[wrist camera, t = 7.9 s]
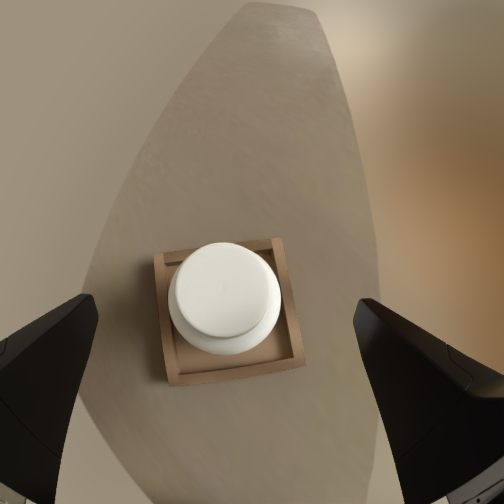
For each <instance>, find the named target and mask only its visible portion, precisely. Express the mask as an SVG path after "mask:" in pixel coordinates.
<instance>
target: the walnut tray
mask: <svg viewBox="0 0 504 504" xmlns="http://www.w3.org/2000/svg"><path fill="white" fill-rule="evenodd" d="M234 244H236V245H240V246H242V247H244V248H246V249H248V250H250V251H252V252H254V253H256V254H257V255H258V256H260V257H261V258H262V259H263V260H264V261H265V262H266V263H267V264H268V265H269V267H270V268H271V269H272V271H273V273H274V274H275V276H276V278H277V281H278V284H279V288H280V294H281V306H280V312H279V316H278V319H277V321H276V323H275V325H274V327H273V329H272V330H271V332H270V333H269V334H268V336H267V337H266V338H265V339H264V340H263V341H262V342H261V343H259V344H258V345H256V346H255V347H253V348H251V349H250V350H247V351H245V352H242V353H239V354H234V355H217V354H212V353H208V352H205V351H202V350H200V349H198V348H197V347H195V346H193V345H192V344H190V343H189V342H188V341H187V340H186V339H185V338H184V337H183V336H182V335H181V334H180V333H179V331H178V330H177V328H176V327H175V325H174V323H173V321H172V318H171V315H170V311H169V305H168V293H169V287H170V283H171V280H172V278H173V276H174V274H175V272H176V270H177V269H178V267H179V266H180V265H181V263H182V262H183V261H184V260H185V259H186V258H187V257H188V256H190V255H191V254H192V253H193V252H195V251H196V250H198V249H200V248H197V249H190V250H182V251H175V252H168V253H161V254H154V270H155V283H156V294H157V305H158V314H159V323H160V331H161V339H162V346H163V353H164V359H165V366H166V372H167V378H168V383H169V387H171V386H183V385H193V384H202V383H211V382H219V381H226V380H233V379H240V378H246V377H252V376H258V375H263V374H269V373H274V372H279V371H284V370H288V369H293V368H298V367H302V366H306V361H305V355H304V349H303V344H302V339H301V333H300V328H299V323H298V318H297V313H296V307H295V302H294V297H293V292H292V287H291V283H290V278H289V273H288V268H287V263H286V259H285V254H284V249H283V245H282V240H281V237H280V238H272V239H264V240H256V241H249V242H241V243H234Z"/></svg>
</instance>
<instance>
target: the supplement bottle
mask: <svg viewBox="0 0 504 504" xmlns="http://www.w3.org/2000/svg"><path fill="white" fill-rule="evenodd" d="M168 305H169V311H170V315H171V318H172V321H173V323H174V325H175V327H176V328H177V330H178V331H179V333H180V334H181V335H182V336H183V337H184V338H185V339H186V340H187V341H188V342H189V343H190V344H192V345H193V346H195V347H197V348H198V349H200V350H202V351H205V352H208V353H212V354H217V355H234V354H239V353H242V352H245V351H247V350H250V349H251V348H253V347H255V346H256V345H258V344H259V343H261V342H262V341H263V340H264V339H265V338H266V337H267V336H268V334H269V333H270V332H271V330H272V329H273V327H274V325H275V323H276V321H277V319H278V316H279V312H280V306H281V294H280V288H279V284H278V281H277V278H276V276H275V274H274V273H273V271H272V269H271V268H270V267H269V265H268V264H267V263H266V262H265V261H264V260H263V259H262V258H261V257H260V256H258V255H257V254H256V253H254V252H252V251H250V250H248V249H246V248H244V247H242V246H240V245H236V244H232V243H213V244H209V245H206V246H204V247H202V248H200V249H198V250H196V251H195V252H193V253H192V254H191V255H190V256H188V257H187V258H186V259H185V260H184V261H183V262H182V263H181V265H180V266H179V267H178V269H177V270H176V272H175V274H174V276H173V278H172V280H171V283H170V287H169V293H168Z"/></svg>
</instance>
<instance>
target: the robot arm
mask: <svg viewBox="0 0 504 504" xmlns="http://www.w3.org/2000/svg"><path fill="white" fill-rule="evenodd" d="M97 323H98V311H97V308H96V305H95V301H94V298H93V296H92V295H91V294H79V295H78V296H76V297H74V298H72V299H70V300H69V301H67V302H65V303H63V304H62V305H60V306H58V307H57V308H55V309H53V310H51V311H50V312H48V313H46V314H45V315H43V316H41V317H40V318H38V319H36V320H35V321H33V322H31V323H30V324H28V325H26V326H25V327H23V328H21V329H20V330H18V331H16V332H15V333H13V334H12V335H10V336H9V337H8V338H5V339H4V340H2V341H0V504H25V503H26V499H29V500H30V501H32V502H34V503H36V504H55V495H56V488H57V481H58V475H59V469H60V464H61V458H62V452H63V448H64V443H65V438H66V434H67V430H68V426H69V422H70V418H71V414H72V410H73V407H74V403H75V399H76V396H77V393H78V389H79V386H80V383H81V380H82V377H83V374H84V370H85V367H86V364H87V361H88V358H89V355H90V351H91V347H92V343H93V339H94V335H95V331H96V327H97ZM353 325H354V329H355V333H356V337H357V341H358V345H359V349H360V353H361V357H362V361H363V364H364V367H365V369H366V372H367V375H368V378H369V381H370V384H371V387H372V390H373V393H374V396H375V399H376V402H377V405H378V408H379V411H380V414H381V417H382V420H383V423H384V427H385V430H386V433H387V437H388V441H389V444H390V447H391V451H392V455H393V458H394V462H395V463H396V464H395V466H396V470H397V474H398V478H399V482H400V486H401V490H402V494H403V498H404V502H405V504H431V503H433V502H435V501H437V500H439V499H441V498H443V497H444V496H446V497H447V500H448V502H449V504H504V375H502V374H500V373H498V372H496V371H495V370H493V369H491V368H489V367H487V366H485V365H483V364H481V363H479V362H477V361H476V360H474V359H472V358H470V357H468V356H466V355H465V354H463V353H461V352H460V351H458V350H456V349H455V348H453V347H452V346H450V345H448V344H447V345H446V343H445V342H443V341H442V340H440V339H438V338H437V337H435V336H433V335H432V334H430V333H429V332H427V331H425V330H423V329H422V328H420V327H418V326H417V325H415V324H414V323H412V322H410V321H409V320H407V319H405V318H403V317H402V316H400V315H399V314H397V313H395V312H394V311H392V310H390V309H389V308H387V307H385V306H384V305H382V304H380V303H379V302H377V301H375V300H373V299H372V298H362V299H360V300H359V302H358V305H357V308H356V311H355V314H354V318H353Z"/></svg>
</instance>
